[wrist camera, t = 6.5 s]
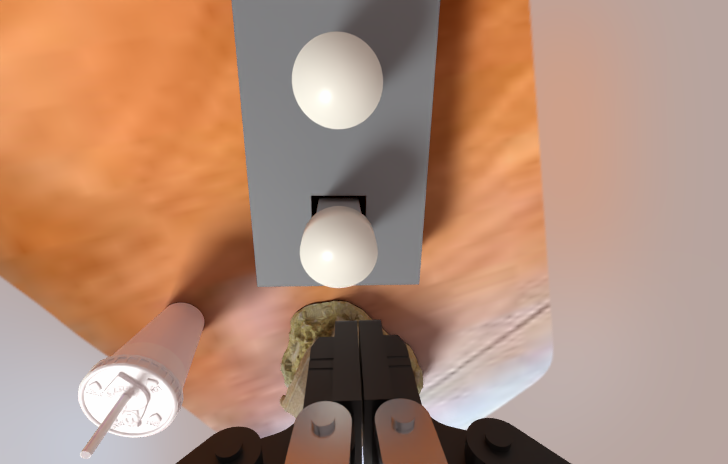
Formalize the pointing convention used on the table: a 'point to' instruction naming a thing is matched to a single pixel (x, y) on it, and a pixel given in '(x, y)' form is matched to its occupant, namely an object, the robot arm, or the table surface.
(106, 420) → the smoothie
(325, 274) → the knob outer
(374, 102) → the knob middle
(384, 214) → the control panel
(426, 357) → the table surface
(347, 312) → the ceramic model
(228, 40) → the table surface
